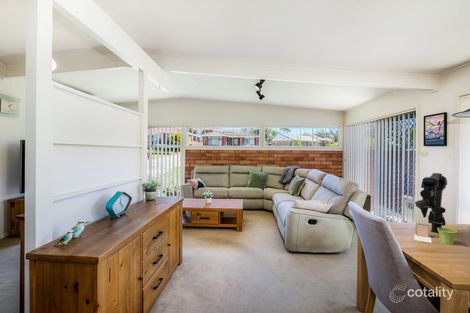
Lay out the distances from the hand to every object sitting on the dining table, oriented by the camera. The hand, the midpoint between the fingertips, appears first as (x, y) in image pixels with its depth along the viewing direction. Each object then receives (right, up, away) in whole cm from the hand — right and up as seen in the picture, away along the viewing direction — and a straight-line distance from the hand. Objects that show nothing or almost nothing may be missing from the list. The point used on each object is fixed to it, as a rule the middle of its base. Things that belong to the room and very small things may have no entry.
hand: (429, 219), depth 161 cm
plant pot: (+3, -13, -9) cm, 16 cm away
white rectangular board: (-6, -13, -1) cm, 14 cm away
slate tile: (-3, -12, +3) cm, 13 cm away
